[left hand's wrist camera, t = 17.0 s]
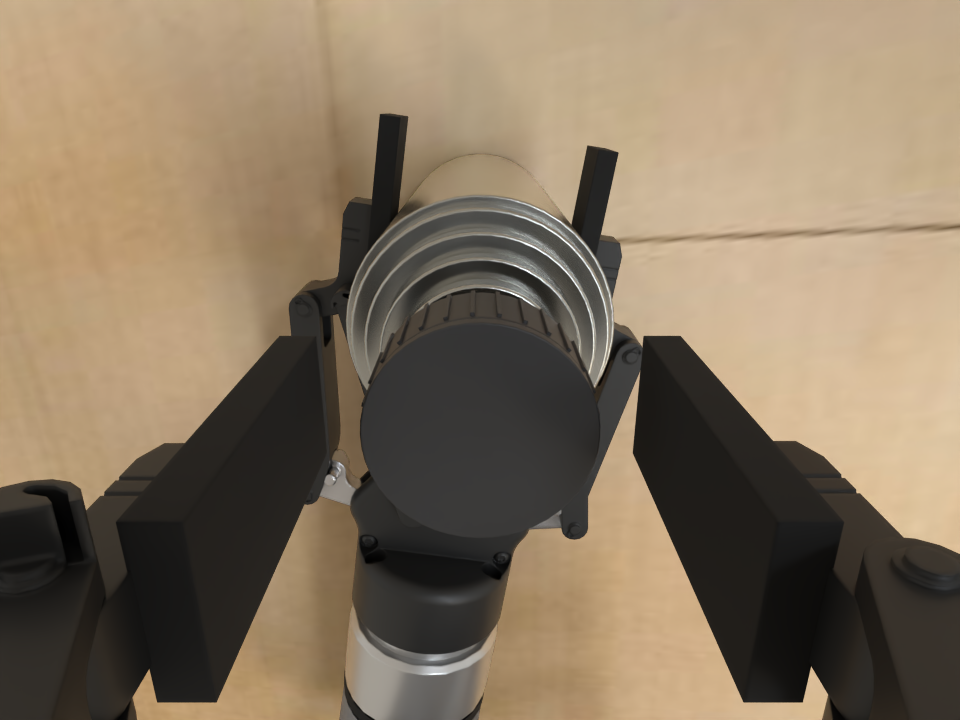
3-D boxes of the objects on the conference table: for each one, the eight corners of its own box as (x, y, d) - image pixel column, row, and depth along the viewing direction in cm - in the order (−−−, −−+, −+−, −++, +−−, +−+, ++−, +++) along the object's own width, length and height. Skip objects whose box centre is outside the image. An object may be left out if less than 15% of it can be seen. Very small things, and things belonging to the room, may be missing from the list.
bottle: (575, 184, 33) (738, 314, 12) (521, 318, 35) (582, 618, 14) (433, 131, 32) (347, 174, 11) (389, 273, 34) (251, 522, 14)
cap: (385, 272, 13) (368, 301, 11) (607, 306, 14) (629, 340, 12) (364, 469, 15) (346, 524, 13) (563, 496, 15) (576, 554, 13)
